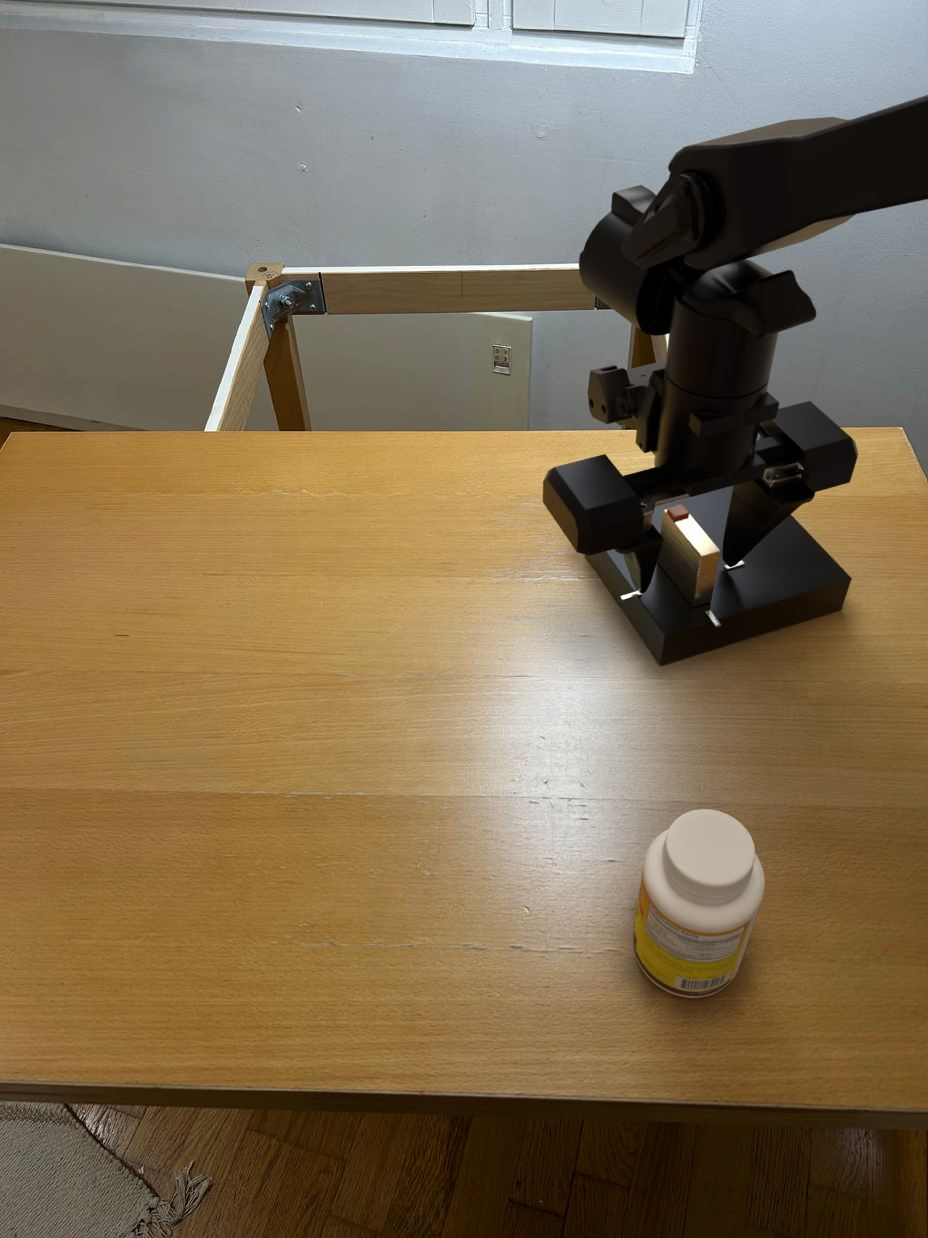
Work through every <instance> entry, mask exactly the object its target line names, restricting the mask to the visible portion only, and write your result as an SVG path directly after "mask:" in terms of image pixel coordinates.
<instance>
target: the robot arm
mask: <svg viewBox="0 0 928 1238" xmlns="http://www.w3.org/2000/svg"><path fill="white" fill-rule="evenodd" d="M667 170H668V172H669V176H668V178H667V180H666V181H665V182H664V184H663V185H662V186H661V188H660V190H659V191H658V193H657V194H656V193H654V192H653V191H652V190H651V189H649V188H648V187H646V186H644V185H643V184H638V185H635V186H632V187H631V186H630V187H628V188H625V189H624V188H623V189H621V190H617V191H616V190H615V191H614V192H612V193H611V204H610V212H608V213H607V214H606V215H605V216H604V217H603V218H601V219H600V220H599V221H597V222H598V223H597V224H596V225H595V226H594V228H593V229H592V231H591V232H590V234H589V235H588V237H587V239H586V241H585V243H584V247H583V250H581V252H580V253H579V257H578V271H579V277H580V279H581V281H582V285H583V286H584V287H585V288H586V290H587V291H588V292H589V293H591V294H592V295H593V296H595V297H596V298H597V299H599V300H600V301H601V302H602V303H604V304H605V305H607V306H608V307H609V308H611V309H612V310H613V311H615V312H616V313H617V314H619V315H620V316H621V317H623V318H624V319H625V320H626V321H628V322H629V323H630V324H632V325H633V326H634V327H636V328H637V329H638V330H640V331H641V332H642V333H644V334H646V335H650V336H653V337H656V336H657V337H658V336H665V335H668V341H667V349H666V358H665V360H662V361H661V360H660V361H657V362H653V363H648V364H645V365H641V366H637V367H633V368H628V369H626V368H624V367H620V368H618V366H617V365H615V364H612V365H607V366H603V367H599V368H595V369H590V371H589V378H588V386H587V402H588V410H589V413H590V415H591V416H592V418H593V419H595V420H596V421H599V422H601V423H603V424H605V425H610V424H614V423H615V424H617V426H623V425H624V426H626V427H629V428H630V429H633V430H634V431H635V430H636V433H635V444H636V446H638V448H639V449H640V450H641V451H642V452H643V453H644V454H647V453H652V455H654V460H653V462H654V463H653V464H654V467H650V468H646V469H643V470H640V471H636V472H632V473H628V474H624V475H623V474H622V473H621V472H620V470H619V469H618V468H617V466H616V465H615V464H614V463H613V461H612V460H611V459H610V458H609V457H608V455H607V454H606V453H604V454H600V455H599V454H598V455H596V456H591V457H587V458H584V459H580V460H577V461H573V462H568V463H564V464H561V465H557V466H554V467H551V468H550V469H548V470H547V472H546V474H545V477H544V478H543V480H542V503H543V505H544V506H545V508H546V509H547V511H548V512H549V514H550V515H551V517H552V518H553V519H554V521H555V523H556V524H557V525H558V527H559V528H560V530H561V532H562V533H563V534H564V536H565V537H566V539H567V540H568V541H569V543H570V545H571V546H572V548H573V549H574V550H575V551H576V553H577V554H581V555H584V556H585V555H588V556H592V555H595V554H599V553H602V552H606V551H609V550H613V549H614V550H615V551H616V552H617V553H620V554H623V556H624V559H625V562H626V565H627V568H628V571H629V573H630V576H631V579H632V582H633V584H634V586H635V587H636V589H637V590H638V592H639V593H640V594H642V593H645V592H646V591H647V589H648V587H649V585H650V583H651V581H652V577H653V574H654V571H655V567H656V564H657V561H658V558H659V555H660V551H661V548H662V545H663V541H664V538H663V537H662V536H661V534H660V533H659V532H658V530H657V529H656V528H655V527H654V525H653V524H652V514H653V513H654V508H655V507H656V506H659V505H663V504H666V503H670V502H674V501H677V500H681V499H684V498H688V497H693V496H697V495H701V494H704V493H708V492H712V491H715V490H719V489H723V488H726V487H730V486H733V490H732V495H731V501H730V506H729V511H728V516H727V522H726V527H725V532H724V538H723V550H722V558H723V560H724V562H725V563H726V564H727V565H728V566H729V567H734V566H736V565H737V564H738V563H739V562H740V561H741V560H742V559H743V558H744V557H745V556H746V555H747V554H748V553H749V552H750V551H751V550H752V549H753V548H754V547H755V546H756V545H757V544H758V543H759V542H760V541H761V540H762V539H763V538H764V537H766V536H767V535H768V534H769V533H770V532H771V531H772V530H773V529H774V528H775V527H776V526H778V525H779V524H780V523H781V522H782V521H783V520H785V519H786V518H787V517H788V516H789V515H790V514H791V515H792V514H793V513H794V512H796V510H798V509H799V508H800V507H801V506H803V505H804V504H807V503H810V502H813V500H814V498H815V496H816V493H818V492H822V491H825V490H829V489H832V488H836V487H839V486H842V485H847V484H850V483H851V481H852V477H853V473H854V471H855V467H856V464H857V460H858V458H859V450H858V448H857V443H856V441H855V440H854V438H852V436H850V435H849V434H848V433H847V432H846V431H845V430H844V429H842V428H841V427H840V426H839V425H838V424H837V423H836V422H835V421H834V420H833V419H831V418H830V417H829V416H828V415H827V414H825V413H824V411H822V410H821V409H820V408H819V407H818V406H816V404H815V403H813V402H812V401H811V400H808V401H804V402H800V403H795V404H793V405H789V406H785V407H781V408H779V407H780V402H779V401H778V400H777V399H776V398H775V397H774V396H773V395H772V394H771V393H770V392H768V386H769V381H770V376H771V372H772V367H773V362H774V359H775V358H774V357H775V352H776V348H777V343H778V338H779V333H781V332H784V331H787V330H790V329H792V328H796V327H799V326H801V325H804V324H807V323H810V322H813V321H814V320H815V319H816V318H817V314H818V313H817V310H816V309H817V308H816V307H815V304H814V303H813V300H812V298H811V297H810V296H809V294H807V292H806V291H805V290H803V289H802V287H801V286H800V284H799V282H798V281H797V279H796V275H795V272H794V271H793V270H792V269H786V270H783V271H780V272H778V273H773V272H771V271H770V270H768V269H767V268H765V267H763V266H761V265H760V264H758V263H756V262H754V261H753V260H750V259H751V258H754V257H757V256H760V255H764V254H768V253H771V252H773V251H777V250H780V249H783V248H788V247H790V246H793V245H796V244H800V243H804V242H806V241H808V240H811V239H813V238H815V237H817V236H819V235H821V234H824V233H825V232H827V231H830V230H832V229H834V228H836V227H838V226H841V225H843V224H844V223H847V222H848V221H850V220H851V219H852V218H853V217H854V216H856V215H859V214H864V213H869V212H873V211H879V210H882V209H888V208H892V207H897V206H902V205H907V204H911V203H916V202H921V201H926V200H928V94H925V95H923V96H920V97H917V98H914V99H910V100H907V101H904V102H901V103H899V104H895V105H892V106H889V107H886V108H883V109H880V110H877V111H874V112H871V113H867V114H865V115H862V116H861V115H860V116H858V117H855V118H851V119H850V118H849V119H844V118H840V117H835V116H825V117H813V118H812V117H811V118H797V119H788V120H783V121H779V122H776V123H771V124H768V125H767V124H766V125H763V126H760V127H755V128H752V129H748V130H744V131H740V132H736V133H732V134H727V135H724V136H721V137H716V138H713V139H709V140H706V141H705V140H704V141H701V142H698V143H693V144H690V145H686V146H684V147H682V148H681V149H679V150H678V151H676V153H674V155H673V157H672V158H671V159H670V160H669V163H668V166H667Z"/></svg>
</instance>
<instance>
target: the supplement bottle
mask: <svg viewBox="0 0 928 1238" xmlns="http://www.w3.org/2000/svg"><path fill="white" fill-rule="evenodd" d="M762 865H763V864H762V863H761V860H760V859H759V856H758V855H757V853H756V847H755V842H754V840H753V838H752V835H751V834H750V832H749V831H748V829H747V828H746V827H745V826H744V825H743V824H742V823H741V822H740V821H739V820H737V819H736V818H734V817H733V816H731V815H730V814H727V813H725V812H723V811H719V810H716V809H709V808H701V809H693V810H689V811H687V812H685V813H683V814H681V815H680V816H678V817H677V818H676V819H675V820H674V821H673V822H672V823H671V824H670V826H669V827H668V828H667V829H665V830H664V831H662V832H661V833H659V835H658V836H656V837H655V839H653V841H652V842H651V844H650V845H649V847H648V849H647V851H646V854H645V857H644V862H643V865H642V873H641V879H640V886H639V893H638V899H637V905H636V913H635V919H634V925H633V934H632V947H633V952H634V956H635V958H636V961H637V963H638V965H639V967H640V969H641V970H642V972H643V973H644V974H645V976H646V977H647V978H648V979H649V980H650V981H651V982H652V983H653V984H655V986H657V987H659V988H660V989H662V990H663V991H665V992H667V993H668V994H672V995H675V996H678V997H682V998H686V999H687V998H688V999H699V998H705V997H710V996H712V995H715V994H717V993H719V992H721V991H722V990H723V989H725V988H726V987H727V986H729V984H730V983H731V982H732V981H733V980H734V978H735V977H736V975H737V973H738V971H739V969H740V966H741V964H742V961H743V958H744V955H745V952H746V950H747V946H748V944H749V941H750V937H751V934H752V931H753V928H754V926H755V922H756V919H757V917H758V914H759V911H760V908H761V905H762V902H763V898H764V895H765V889H766V887H765V886H766V885H765V884H766V880H765V879H766V878H765V872H764V869H763V866H762Z"/></svg>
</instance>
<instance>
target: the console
mask: <svg viewBox="0 0 928 1238" xmlns="http://www.w3.org/2000/svg"><path fill="white" fill-rule="evenodd" d="M732 490H733V486H730V487H726V488H723V489H719V490H715V491H712V492H708V493H704V494H701V495H697V496H693V497H688V498H684V499H681V500H677V501H674V502H670V503H666V504H663V505H659V506H656V507H655V508H654V513H653V514H652V524H653V525H654V527H655V528H656V529H657V530H658V532H659V533H661V525H662V517H663V510H665V509H667V508H670V507H673V506H677V505H681V504H682V505H683V506H684V507H685V508H686V509H687V511H688V512H689V514H690V515H691V516H692V517H693V518H694V520H695V521H696V522H697V523H698V524H699V526H700V527H701V528H702V529H703V530H704V532H705V533H706V534H707V535H708V536H709V538H710V539H711V540H712V541H713V542H714V543H715V545H716V546H717V547H718V548H719V549H720V551H721V553H720V558H719V563H718V568H717V574H716V579H715V584H714V589H713V595H712V600H711V602H709V603H706V604H702V605H699V606H696V607H692V606H691V605H690V603H689V602H688V601H687V599H686V598H685V597H684V596H683V594H682V593H681V592H680V590H679V589H678V588H677V586H676V585H675V584H674V582H673V581H672V580H671V578H670V577H669V576H668V574H667V573H666V572H665V570H664V569H663V568H662V567H661V565H660V564H659V563H658V561H657V564H656V567H655V571H654V574H653V577H652V581H651V583H650V585H649V587H648V589H647V591H646V592H645V593H642V594H640V593H639V592H638V590H637V589H636V587H635V586H634V584H633V582H632V579H631V576H630V573H629V571H628V568H627V565H626V562H625V559H624V556H623V554H620V553H617V552H616V551H615V550H614V549H613V550H609V551H606V552H602V553H599V554H595V555H592V556H588V555H584V557H585V558H586V560H587V561H588V563H589V564H590V565H591V567H592V569H593V570H594V571H595V573H596V574H597V575H598V577H599V578H600V580H601V582H602V583H603V585H604V586H605V587H606V589H607V590H608V592H609V594H611V596H612V598H613V599H614V601H615V602H616V604H617V605H618V606H619V608H620V609H621V611H622V613H623V614H624V615H625V616H626V618H627V619H628V621H629V622H630V624H631V625H632V627H633V629H634V630H635V631H636V633H637V635H638V636H639V637H640V638H641V640H642V642H643V643H644V644H645V646H646V648H647V649H648V650H649V651H650V653H651V654H652V656H653V657H654V659H655V660H656V662H657V663H658V665H659V666H660V667H662V666H665V665H669V664H673V663H676V662H679V661H681V660H685V659H687V658H688V659H689V658H691V657H694V656H698V655H700V654H704V653H708V652H710V651H714V650H717V649H720V648H723V647H726V646H730V645H733V644H737V643H739V642H742V641H747V640H749V639H752V638H755V637H759V636H762V635H765V634H767V633H768V634H769V633H771V632H774V631H777V630H781V629H784V628H788V627H790V626H793V625H796V624H800V623H803V622H806V621H809V620H812V619H816V618H819V617H823V616H825V615H828V614H832V613H835V612H839V611H842V609H843V606H844V604H845V600H846V598H847V594H848V593H849V588H850V585H851V582H852V579H853V578H852V577H851V575H850V574H849V573H847V572H846V570H845V569H844V568H843V567H842V566H841V565H840V564H839V563H838V562H837V561H836V559H835V558H833V557H832V555H830V554H829V553H828V551H827V550H826V549H825V548H824V547H823V546H822V545H821V544H820V543H819V542H818V541H817V540H816V539H815V538H814V537H813V536H812V535H811V533H809V532H808V530H806V528H805V527H804V526H803V525H802V524H801V523H800V522H799V521H798V520H797V519H796V518H795V516H793V515H792V514H790V515H789V516H788V517H787V518H786V519H785V520H783V521H782V522H781V523H780V524H779V525H778V526H776V527H775V528H774V529H773V530H772V531H771V532H770V533H769V534H768V535H767V536H766V537H764V538H763V539H762V540H761V541H760V542H759V543H758V544H757V545H756V546H755V547H754V548H753V549H752V550H751V551H750V552H749V553H748V554H747V555H746V556H745V557H744V558H743V559H742V560H741V561H740V562H739V563H738V564H737V565H736V566H734V567H729V566H728V565H727V564H726V563H725V562H724V560H723V558H722V550H723V538H724V532H725V527H726V522H727V516H728V511H729V506H730V501H731V495H732Z"/></svg>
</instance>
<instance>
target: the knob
mask: <svg viewBox="0 0 928 1238" xmlns="http://www.w3.org/2000/svg"><path fill="white" fill-rule="evenodd" d="M660 534H661V536H662V537H663V538H664V541H663V545H662V548H661V551H660V555H659V558H658V563H659V564H660V565H661V567H662V568H663V569H664V570H665V572H666V573H667V574H668V576H669V577H670V578H671V580H672V581H673V582H674V584H675V585H676V586H677V588H678V589H679V590H680V592H681V593H682V594H683V596H684V597H685V598H686V599H687V601H688V602H689V603H690V605H691V606H692V607H696V606H699V605H702V604H706V603H709V602H711V600H712V595H713V589H714V584H715V579H716V574H717V568H718V563H719V558H720V553H721V551H720V549H719V548H718V547H717V546H716V545H715V543H714V542H713V541H712V540H711V539H710V538H709V536H708V535H707V534H706V533H705V532H704V530H703V529H702V528H701V527H700V526H699V524H698V523H697V522H696V521H695V520H694V518H693V517H692V516H691V515H690V514H689V512H688V511H687V509H686V508H685V507H684V506H683V505H682V504H681V505H677V506H673V507H670V508H667V509H665V510H663V517H662V525H661V533H660Z"/></svg>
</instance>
